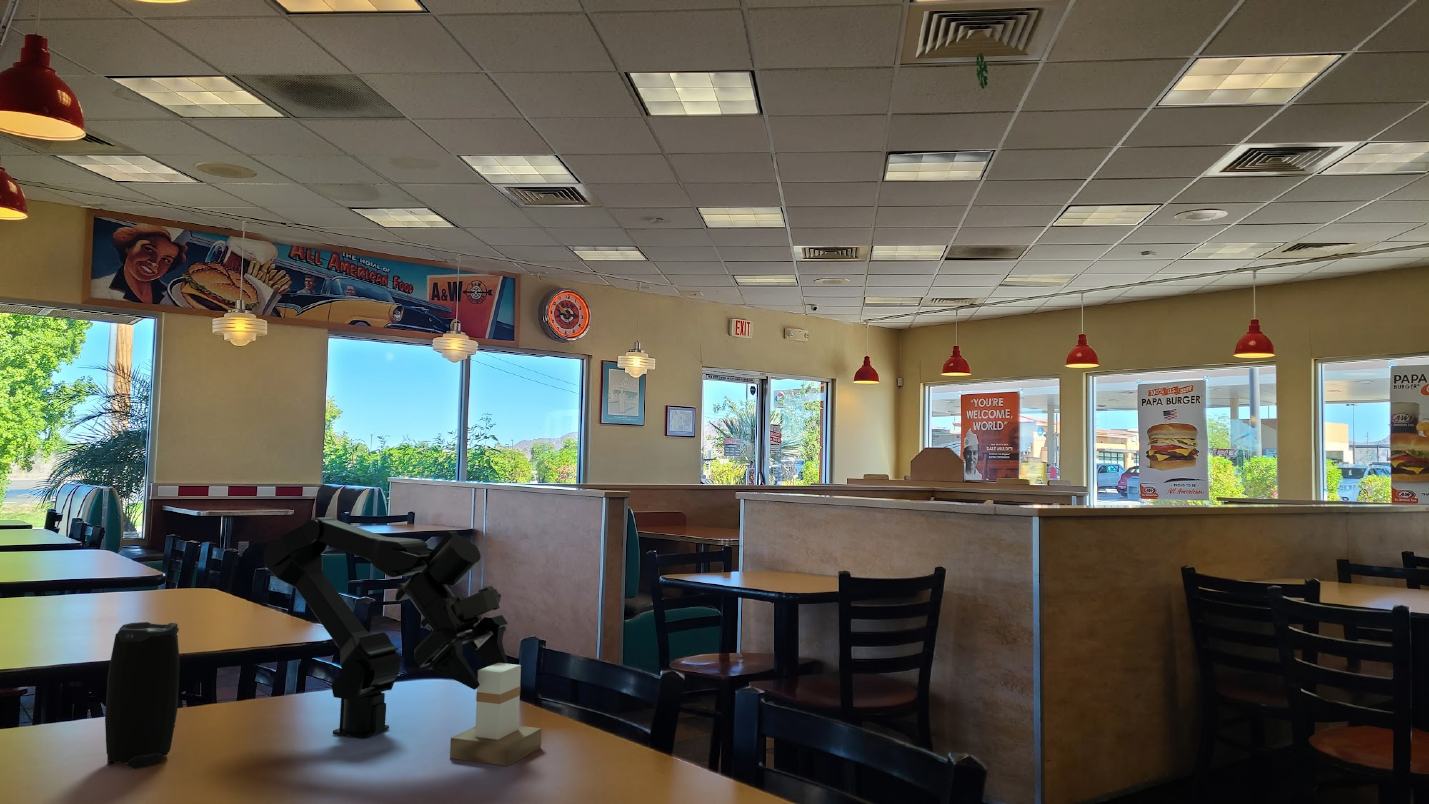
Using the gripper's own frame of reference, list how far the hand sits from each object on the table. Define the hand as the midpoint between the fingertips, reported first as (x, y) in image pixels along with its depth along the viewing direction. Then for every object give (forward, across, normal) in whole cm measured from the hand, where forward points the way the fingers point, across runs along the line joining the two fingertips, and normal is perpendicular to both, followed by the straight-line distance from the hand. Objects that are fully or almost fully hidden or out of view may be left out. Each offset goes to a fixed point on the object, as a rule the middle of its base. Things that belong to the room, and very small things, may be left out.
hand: (493, 681), depth 147 cm
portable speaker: (-23, -24, +39) cm, 51 cm away
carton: (+6, 0, +5) cm, 8 cm away
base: (+8, 0, +7) cm, 11 cm away
